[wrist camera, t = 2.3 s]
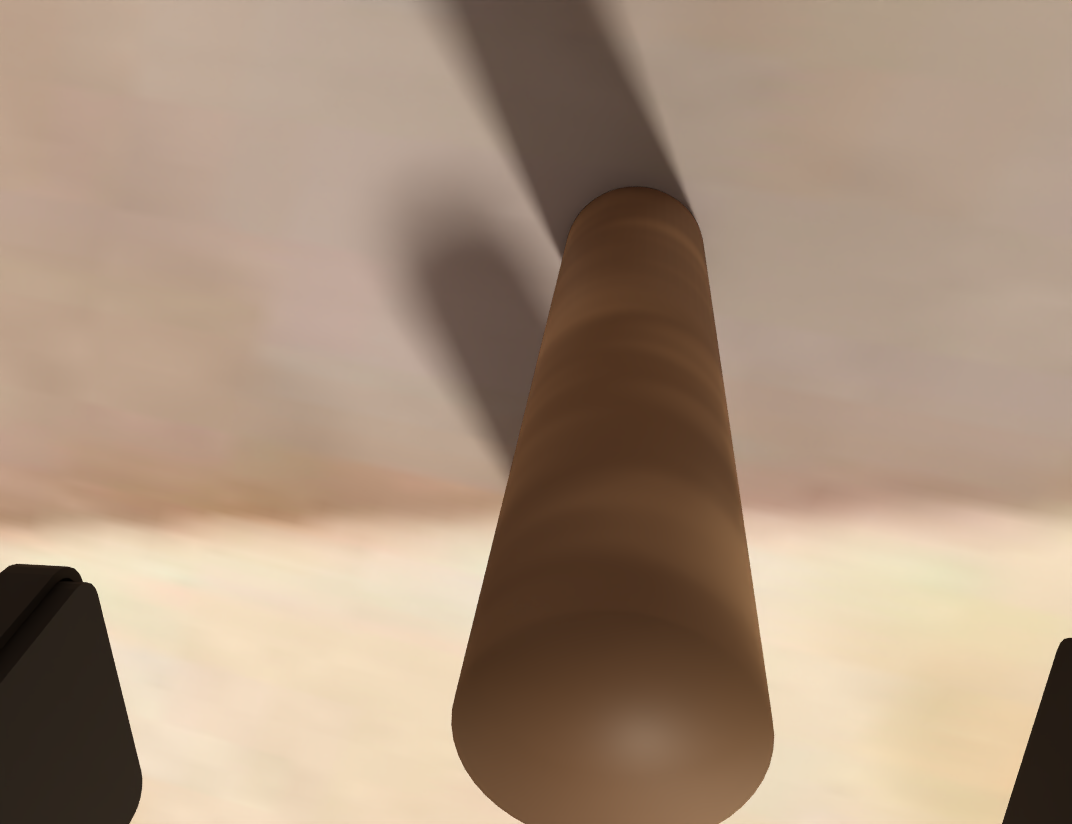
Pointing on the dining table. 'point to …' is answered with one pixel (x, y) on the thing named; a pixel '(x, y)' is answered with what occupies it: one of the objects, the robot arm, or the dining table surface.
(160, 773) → the dining table surface
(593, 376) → the long pin
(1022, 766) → the robot arm
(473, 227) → the dining table surface
